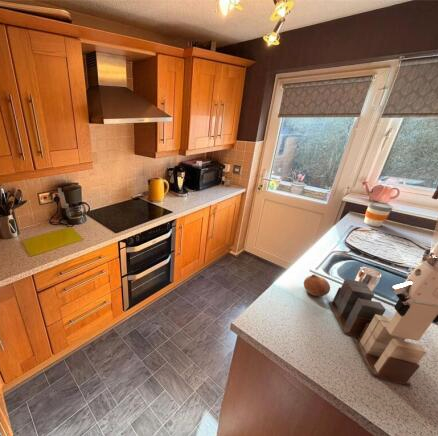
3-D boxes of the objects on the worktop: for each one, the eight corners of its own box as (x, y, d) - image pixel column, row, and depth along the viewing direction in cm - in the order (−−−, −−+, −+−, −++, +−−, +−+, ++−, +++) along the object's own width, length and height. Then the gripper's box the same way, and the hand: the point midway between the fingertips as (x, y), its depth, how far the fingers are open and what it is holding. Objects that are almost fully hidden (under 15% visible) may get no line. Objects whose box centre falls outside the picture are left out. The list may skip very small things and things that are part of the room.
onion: (302, 293, 108) (299, 272, 108) (325, 292, 105) (322, 270, 105) (310, 301, 99) (306, 278, 99) (336, 300, 96) (332, 276, 96)
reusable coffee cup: (385, 229, 161) (395, 209, 154) (362, 224, 167) (371, 205, 161) (381, 222, 170) (390, 203, 164) (359, 218, 177) (367, 200, 170)
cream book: (412, 334, 69) (435, 301, 63) (418, 341, 67) (442, 308, 61) (385, 328, 71) (406, 296, 65) (390, 334, 69) (411, 302, 63)
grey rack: (353, 308, 96) (367, 281, 90) (374, 340, 83) (392, 312, 77) (328, 302, 99) (340, 277, 93) (344, 333, 85) (359, 305, 79)
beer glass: (365, 307, 97) (381, 279, 90) (345, 298, 101) (358, 271, 95) (368, 299, 101) (383, 272, 94) (348, 291, 105) (361, 264, 99)
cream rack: (384, 347, 80) (403, 318, 74) (409, 385, 69) (434, 355, 63) (353, 339, 83) (369, 311, 77) (372, 375, 72) (393, 346, 66)
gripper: (416, 265, 57) (384, 317, 65) (513, 280, 52) (467, 335, 60) (397, 250, 64) (370, 299, 71) (482, 262, 59) (444, 313, 66)
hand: (414, 315), depth 65 cm, fingers closed on cream book, 6 cm apart
